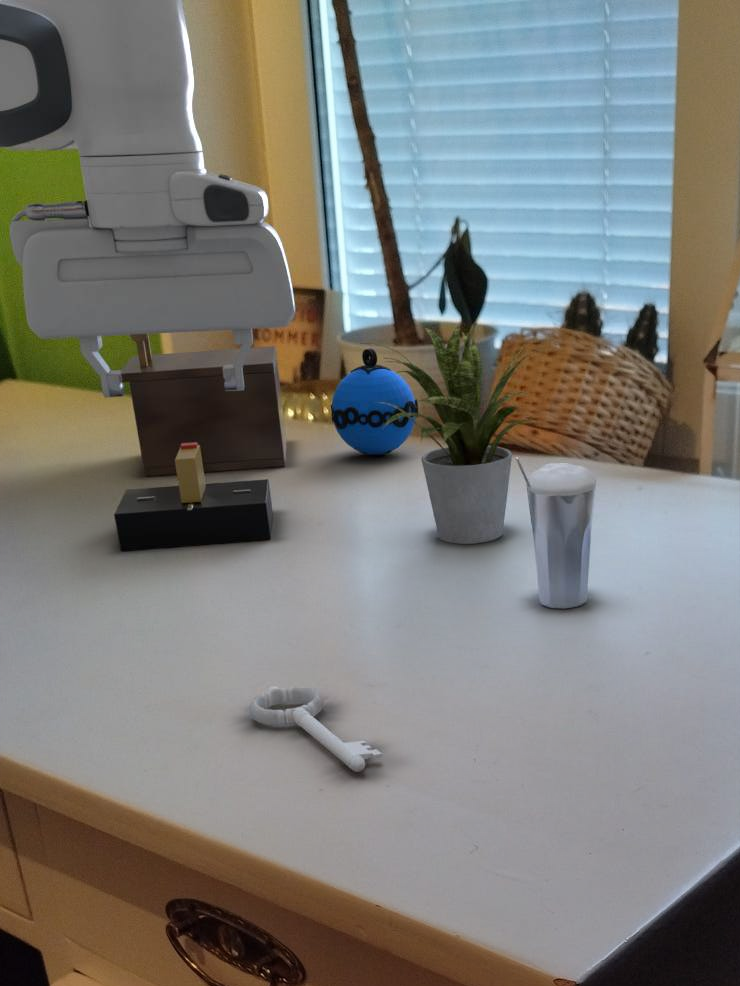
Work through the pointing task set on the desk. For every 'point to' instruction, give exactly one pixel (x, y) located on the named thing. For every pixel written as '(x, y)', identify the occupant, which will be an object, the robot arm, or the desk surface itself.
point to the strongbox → (210, 422)
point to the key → (309, 722)
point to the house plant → (464, 444)
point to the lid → (191, 362)
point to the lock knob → (190, 473)
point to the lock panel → (194, 516)
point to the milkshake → (561, 531)
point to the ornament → (373, 408)
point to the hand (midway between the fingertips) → (175, 393)
